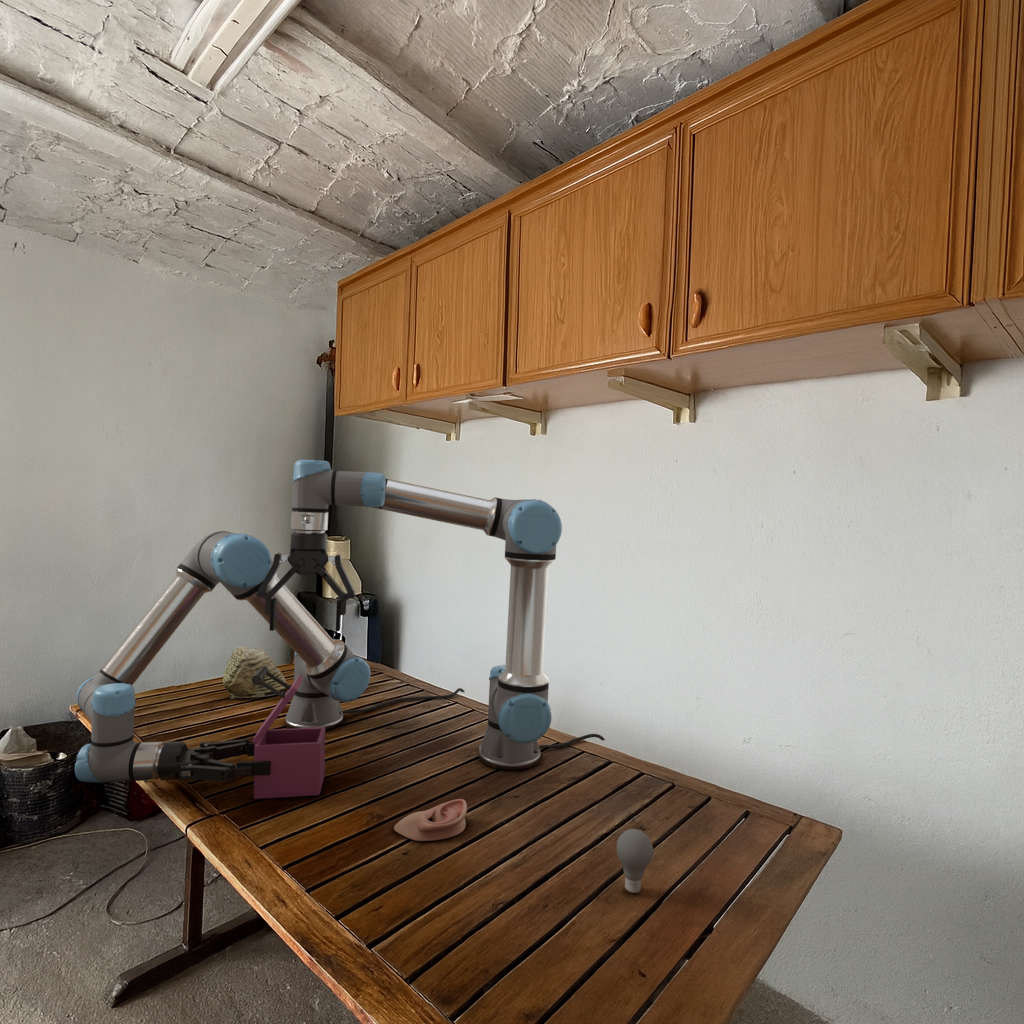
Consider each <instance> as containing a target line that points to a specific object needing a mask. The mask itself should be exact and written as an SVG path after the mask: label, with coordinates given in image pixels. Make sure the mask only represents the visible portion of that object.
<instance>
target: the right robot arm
mask: <svg viewBox="0 0 1024 1024" xmlns="http://www.w3.org/2000/svg"><path fill="white" fill-rule="evenodd" d="M293 466H294V467H293V476H292V481H291V482H292V488H291V489H292V491H291V493H292V497H291V520H290V521H291V522H290V529H291V530H292V532H291V533H290V546H289V547H290V548H289V549H290V550H289V553H288V554H284V553H281V552H277V553H275V554H274V556H273V560H272V561H273V565H272V567H271V568H270V570H269V572H268V574H267V575H266V577H265V579H264V581H263V582H262V584H261V586H260V588H259V589H258V591H257V593H256V595H257V596H259V597H263V598H264V599H265V613H266V614H270V624H269V631H270V632H273V631H275V630H274V629H275V628H276V607H277V598H273V596H274V595H275V594H276V593H277V592H278V591H279V590H280V589H281V588H282V587H283V585H286V584H287V583H288V581H289V580H290V579H292V578H293V576H294V575H295V574H297V575H299V576H305V575H308V576H316V575H319V576H320V577H321V578H322V579H323V580H324V581H325V582H326V583H327V586H329V588H331V590H332V591H333V592H334V594H335V595H336V596H337V597H338V599H337V600H336V613H335V632H340V630H341V623H342V622H341V621H342V616H345V615H346V613H347V605H348V603H347V602H348V600H350V599H353V598H355V597H356V590H355V589H354V586H353V585H352V582H351V580H350V578H349V576H348V574H347V572H346V570H345V568H344V565H343V557H342V555H341V554H338V553H337V554H336V555H328V534H327V533H326V531H328V529H329V528H328V526H329V506H346V507H366V508H371V509H376V510H383V511H387V512H392V513H398V514H402V515H407V516H412V517H415V518H421V519H426V520H431V521H435V522H440V523H445V524H450V525H455V526H460V527H463V528H470V529H475V530H480V531H483V533H484V534H485V535H486V536H488V537H493V538H496V539H500V540H502V541H504V559H505V560H506V561H507V563H508V564H509V565H510V573H509V593H508V611H507V612H508V613H507V631H506V646H505V647H506V649H505V664H498V665H494V666H493V667H491V669H490V670H489V673H490V674H489V677H488V680H489V689H488V709H487V711H488V713H487V726H486V730H485V732H484V735H483V737H482V741H481V743H479V745H478V758H479V760H480V761H481V763H483V764H485V765H486V766H488V767H491V768H493V769H498V770H505V771H521V770H527V769H530V768H532V767H534V766H537V765H538V764H539V763H540V761H541V750H543V749H545V750H546V749H561V748H564V747H567V746H570V745H572V744H574V743H576V742H580V741H582V740H583V741H584V740H587V739H591V738H598V739H599V740H600V741H606V739H605V738H604V737H603V736H602V735H601V734H598V733H588V734H585V735H582V736H579V737H574V738H572V739H570V740H568V741H566V742H561V743H557V744H556V743H555V744H540V745H539V741H538V740H540V739H541V738H542V737H543V736H545V734H546V733H547V732H548V731H549V729H550V727H551V723H552V719H553V718H552V709H551V706H550V704H549V690H550V689H549V687H550V686H549V685H550V679H549V677H548V676H547V675H546V674H545V673H544V654H545V637H546V636H545V635H546V621H547V620H546V617H547V603H548V602H547V600H548V581H549V568H550V566H552V564H554V563H555V562H556V559H557V558H556V556H557V545H558V543H559V541H560V538H561V537H562V533H563V532H562V531H563V524H562V519H561V516H560V515H559V513H558V511H557V509H555V508H554V507H553V506H552V505H551V504H549V503H548V502H546V501H545V500H544V501H543V500H541V499H536V498H532V499H527V498H526V499H509V498H508V499H507V498H499V497H495V496H494V497H493V498H491V499H486V498H480V497H477V496H476V497H475V496H471V495H468V494H462V493H457V492H453V491H448V490H443V489H439V488H433V487H430V486H429V487H428V486H424V485H419V484H415V483H410V482H404V481H400V480H396V479H392V478H391V479H390V478H386V476H385V474H384V473H382V472H381V473H380V472H373V471H346V470H345V471H342V470H333V469H332V467H331V463H330V462H329V461H327V460H316V459H299V460H296V462H295V463H294V464H293ZM286 561H287V562H288V563H289V565H290V567H291V568H290V569H289V570H288V571H287V572H286V573H285V574H284V575H283V576H282V578H280V581H279V582H278V583H277V584H276V585H275V586H274V587H273V588H272V589H271V590H270V591H269V592H267V591H266V590H267V588H268V586H269V584H270V583H271V581H272V579H273V577H274V576H275V574H276V572H277V573H278V571H277V570H279V568H280V567H281V565H283V564H284V563H285V562H286ZM328 562H330V563H331V565H332V566H335V569H336V571H337V573H338V576H339V578H340V580H341V582H342V584H343V586H344V588H345V590H344V589H342V587H341V586H340V585H339V583H337V581H336V580H335V579H334V578H333V576H332V575H331V574H330V572H329V571H328V569H326V568H325V566H326V565H327V564H328ZM345 591H346V592H345Z"/></svg>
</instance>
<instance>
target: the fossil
mask: <svg viewBox="0 0 1024 1024" xmlns="http://www.w3.org/2000/svg"><path fill="white" fill-rule="evenodd" d="M262 666H266V667H267V668H268V672H270V673H271V674H273V675H275V676H276V677H278V678H279V679H281V680H282V681H284V682H285V683H287V680H286V678H285V676H284V674H283V673H282V672H281V669H279V668H278V667H277V665H276V663H275V662H274V660H273V659H272V658H271V657H270V656H269V655H268V654H267V653H266V652H265V650H264V649H263V648H260V647H258V648H251V647H247V646H246V647H245V646H238V647H237V648H236V649H235V650H233V651H232V653H231V656H230V657H229V659H228V660H227V663H226V666H225V668H224V671H223V675H222V676H223V677H222V685H223V687H224V688H225V690H226V691H228V693H229V698H230V699H250V698H264V697H271V696H275V695H276V694H275V693H273V692H272V691H270V690H269V689H267V688H266V687H264V686H263V685H261V684H260V683H259V684H254V683H253V682H252V677H253V676H254V675H255V674H256V672H257V671H258V670H259V669H260V668H261V667H262ZM262 680H263V681H264V682H266V683H268V684H269V685H271V686H272V687H274V688H275V689H277V690H278V691H280V692H281V693H283V694H284V693H285V692H286V691H287V688H285V687H284V686H282V685H281V684H279V683H278V682H276V681H275V680H273V679H271V678H270V677H268V676H267V675H265V677H264V678H263V679H262Z"/></svg>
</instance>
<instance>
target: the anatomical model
mask: <svg viewBox="0 0 1024 1024" xmlns="http://www.w3.org/2000/svg"><path fill="white" fill-rule="evenodd" d="M467 804H468V803H467V801H466V800H465V799H463V798H457V799H452V800H449V801H446V802H443V803H440V804H438V805H435V806H434V807H431V808H429V809H426V810H421V811H416V812H413V813H412V812H411V813H409V814H408V815H406V816H405V817H403V818H402V819H400V820H399V821H398V822H397V823H395V825H394V826H393V830H394V831H395V832H396V833H397V834H399V835H401V836H403V837H405V838H407V839H410V840H412V841H416V842H428V841H439V840H445V839H449V838H453V837H455V836H457V835H460V834H461V833H462V832H464V831H465V829H466V826H467V825H466V824H467V822H466V818H465V817H466V816H467V812H468V805H467Z"/></svg>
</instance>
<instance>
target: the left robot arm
mask: <svg viewBox="0 0 1024 1024" xmlns="http://www.w3.org/2000/svg"><path fill="white" fill-rule="evenodd" d="M273 561H274V560H272V556H271V553H270V550H269V548H268V546H267V545H266V544H264V542H262V541H261V540H259V539H258V538H257V537H255V536H252V535H250V534H246V533H238V532H237V533H236V532H231V531H226V530H220V531H219V530H218V531H214V532H211V533H208V534H207V535H205V536H204V537H202V538H201V539H200V540H199V541H198V542H197V543H196V544H195V545H194V547H192V548H191V550H190V551H189V552H188V553H187V554H186V556H185V557H184V559H183V560H182V561H181V562H180V564H179V565H178V566H177V567H176V568H175V577H174V578H173V579H172V581H171V582H170V583H169V584H168V585H167V587H166V588H165V589H164V591H162V593H161V594H160V595H159V597H158V598H157V599H156V600H155V601H154V602H153V604H152V605H151V607H150V608H149V609H148V610H147V611H146V613H145V614H144V615H143V616H142V618H141V619H140V620H139V622H138V623H137V624H136V625H135V627H133V629H132V630H131V632H129V634H128V635H127V636H126V637H125V639H124V640H123V641H122V642H121V644H120V645H119V646H118V647H117V649H116V650H115V651H114V653H112V655H111V656H110V657H109V659H108V660H107V661H106V662H105V664H104V665H103V666H102V668H101V669H99V671H98V672H97V673H96V674H95V675H94V676H93V677H91V678H88V679H86V680H85V681H84V682H82V683H81V684H80V685H79V687H78V688H77V690H76V695H75V696H76V697H75V698H76V702H77V705H78V708H79V709H80V710H81V711H82V712H83V714H85V716H86V717H87V719H88V720H89V721H90V723H91V729H90V734H91V735H90V736H91V737H90V743H87V744H84V745H83V746H82V747H81V749H80V750H79V751H78V753H77V756H76V762H75V763H74V774H75V777H76V779H77V780H78V781H80V782H83V783H98V784H104V783H117V782H118V783H119V782H121V783H122V782H143V781H144V783H149V782H150V781H158V780H159V779H160V780H161V781H179V780H180V781H188V780H189V781H190V780H193V781H194V780H195V781H208V782H209V781H210V782H220V783H221V782H222V783H228V782H235V781H236V777H252V776H253V777H254V776H257V775H270V767H271V761H254V760H249V761H248V760H246V761H244V760H243V761H237V762H236V763H233V762H227V761H223V760H226V759H231V758H236V757H240V756H245V755H247V757H254V746H255V743H254V742H250V740H251V739H250V738H248V737H247V738H241V739H231V740H222V741H214V742H213V741H211V742H210V741H208V742H207V741H203V742H199V747H195V748H190V749H189V748H188V745H187V743H186V742H184V741H167V742H166V743H165V742H164V741H146V742H145V741H144V742H135V741H134V737H135V715H136V713H135V711H136V703H137V699H136V690H135V687H134V684H135V683H136V681H138V679H139V678H140V677H141V676H142V674H143V672H144V671H146V669H147V668H148V666H149V665H150V664H151V662H152V661H153V660H154V659H155V657H156V656H157V655H158V654H159V652H160V651H161V650H162V648H163V647H164V646H165V645H166V643H167V642H168V641H169V639H170V638H171V637H172V635H173V634H174V633H175V632H176V631H177V629H178V628H179V626H180V625H181V624H182V623H183V621H185V619H186V618H187V617H188V615H189V614H190V612H191V611H192V610H193V609H194V608H195V606H196V605H197V604H198V602H199V601H200V600H201V598H202V597H203V596H204V595H205V594H206V593H212V591H213V590H214V589H215V588H216V586H218V585H219V583H220V584H221V585H222V586H223V587H224V589H226V590H227V591H228V592H229V593H230V595H232V597H234V599H236V600H237V601H247V602H248V604H250V605H251V607H252V608H253V609H254V610H255V611H256V612H257V613H258V614H259V615H260V616H261V618H263V619H264V621H265V622H266V623H268V624H269V625H270V614H266V613H265V599H264V598H263V597H259V596H257V595H256V593H257V591H258V589H259V588H260V586H261V584H262V582H263V581H264V579H265V577H266V575H267V574H268V572H269V570H270V568H271V567H272V565H273ZM278 570H279V569H278ZM278 570H277V572H276V574H275V576H274V577H273V579H272V581H271V583H270V584H269V586H268V588H267V590H266V591H267V592H269V591H270V590H271V589H272V588H273V587H274V586H275V585H276V584H277V583H278V582H279V581H280V580H281V578H279V577H278ZM273 598H277V607H276V628H275V629H274V630H273V631H275V632H276V634H278V635H279V636H280V637H281V638H282V640H283V641H284V642H285V643H286V644H287V645H288V646H289V647H290V648H291V650H293V651H294V655H293V657H294V672H293V682H294V681H295V680H296V679H297V677H298V676H299V675H301V676H303V677H304V679H303V681H302V683H301V685H300V686H299V688H298V690H297V692H296V693H295V694H294V696H293V697H292V698H291V702H290V704H289V708H288V711H287V713H286V715H285V726H286V728H287V729H296V728H319V727H325V731H329V730H332V729H335V728H337V727H339V726H340V725H342V723H343V722H344V715H346V714H357V713H358V714H359V713H367V712H369V711H373V710H375V709H378V708H380V707H384V706H387V705H390V704H394V703H399V702H405V701H417V700H419V701H420V700H422V701H423V700H436V699H437V700H441V699H449V698H452V697H455V696H456V695H458V693H459V692H461V693H465V692H466V691H465V690H464V689H463V688H462V687H459V688H457V689H456V690H455V691H453V692H452V693H450V694H444V695H426V696H425V695H424V696H407V697H400V698H395V699H391V700H387V701H384V702H381V703H378V704H377V703H376V704H375V705H372V706H369V707H366V708H359V709H346V710H343V709H342V706H341V702H342V703H350V702H353V701H355V700H357V699H359V698H360V697H361V696H362V695H363V694H364V693H365V691H366V690H367V688H368V687H369V684H370V681H371V680H370V679H371V675H372V674H371V673H372V672H371V668H370V665H369V664H368V662H367V661H365V659H364V658H362V657H360V656H356V654H354V652H353V651H352V650H351V649H350V648H349V647H348V646H347V644H346V643H345V642H344V641H343V640H342V639H338V638H332V637H331V636H330V635H329V634H328V632H327V631H326V630H325V629H324V628H323V626H321V624H320V623H319V622H318V621H317V620H316V619H315V618H314V617H313V615H312V614H311V613H310V612H309V611H308V610H307V609H306V607H305V606H304V605H303V604H302V603H301V602H300V601H299V600H298V598H297V597H296V596H295V595H294V594H293V593H292V592H291V590H290V589H289V588H288V587H287V586H286V584H284V585H283V587H282V588H281V589H280V590H279V591H278V592H277V593H276V594H275V595H274V596H273Z"/></svg>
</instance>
